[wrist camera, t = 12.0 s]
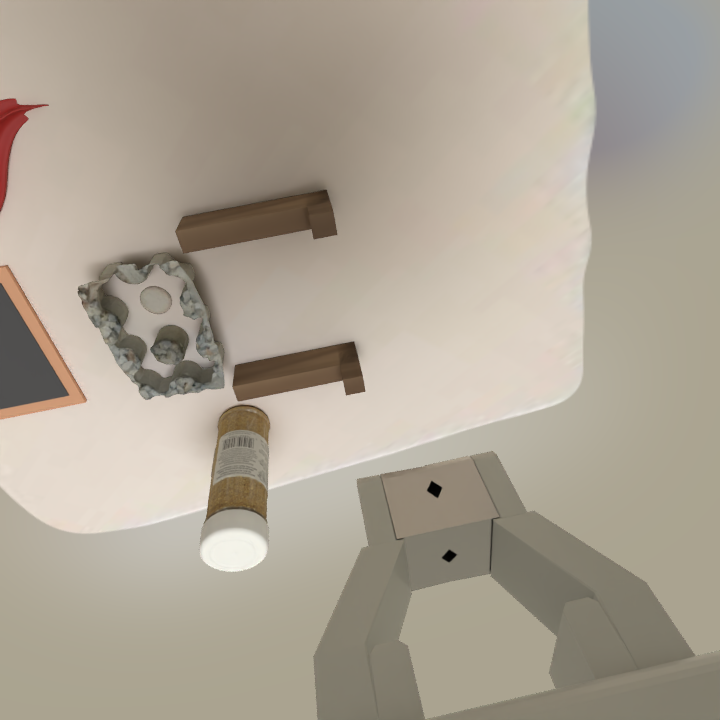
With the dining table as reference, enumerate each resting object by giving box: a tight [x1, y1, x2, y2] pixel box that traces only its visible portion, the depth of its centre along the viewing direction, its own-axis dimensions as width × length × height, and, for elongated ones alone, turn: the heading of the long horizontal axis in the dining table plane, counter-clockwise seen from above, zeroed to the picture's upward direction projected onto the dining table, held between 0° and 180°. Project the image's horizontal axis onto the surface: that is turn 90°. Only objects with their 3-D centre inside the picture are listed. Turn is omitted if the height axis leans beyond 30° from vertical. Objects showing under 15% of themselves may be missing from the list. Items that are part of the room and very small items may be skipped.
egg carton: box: [78, 253, 224, 400], centre depth 36 cm, size 11×8×4 cm
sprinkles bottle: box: [199, 406, 270, 572], centre depth 39 cm, size 5×5×13 cm
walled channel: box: [175, 190, 365, 401], centre depth 36 cm, size 14×10×5 cm
